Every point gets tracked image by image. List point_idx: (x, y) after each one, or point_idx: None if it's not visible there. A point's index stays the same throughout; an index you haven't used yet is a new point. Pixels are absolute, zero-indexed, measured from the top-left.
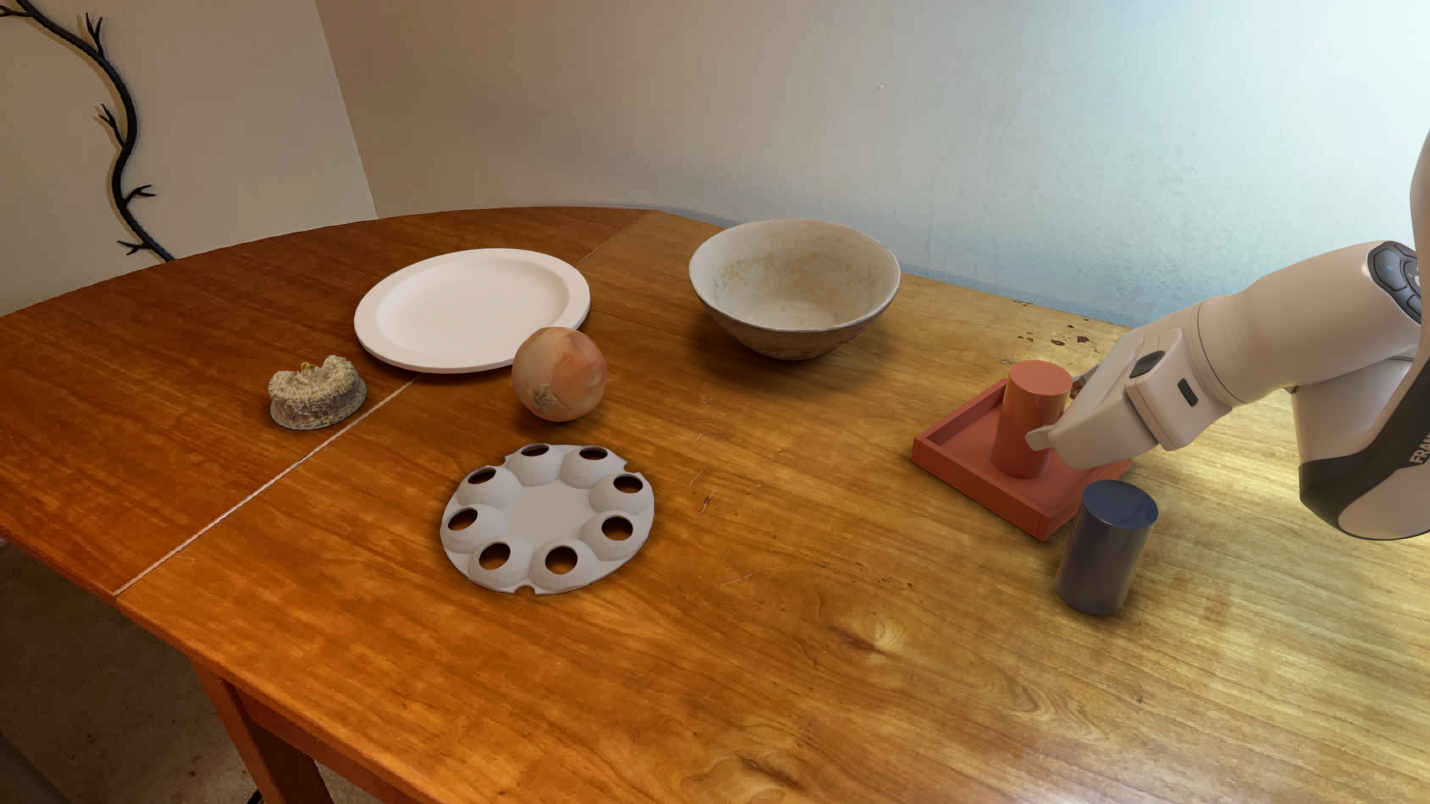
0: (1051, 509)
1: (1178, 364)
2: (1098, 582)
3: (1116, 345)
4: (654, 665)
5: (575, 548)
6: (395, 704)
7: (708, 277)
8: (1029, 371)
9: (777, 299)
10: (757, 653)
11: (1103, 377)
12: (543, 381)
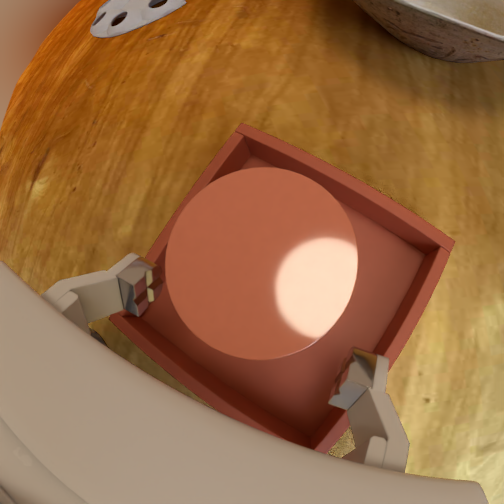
0: (122, 322)
1: None
2: None
3: (417, 494)
4: (45, 87)
5: (104, 17)
6: (53, 36)
7: None
8: (279, 221)
9: (458, 17)
10: (41, 122)
11: (105, 436)
12: None
